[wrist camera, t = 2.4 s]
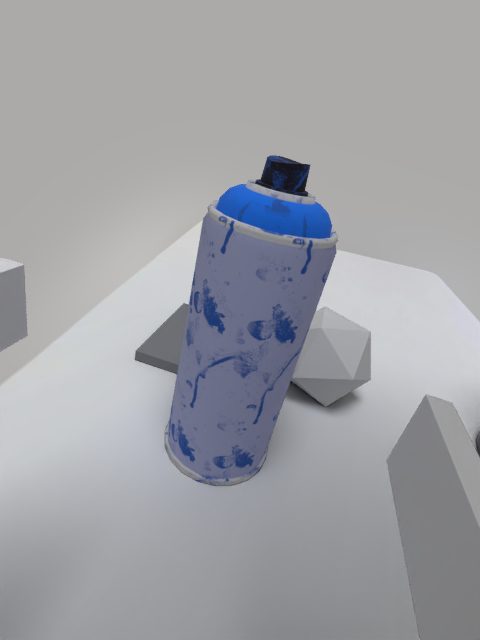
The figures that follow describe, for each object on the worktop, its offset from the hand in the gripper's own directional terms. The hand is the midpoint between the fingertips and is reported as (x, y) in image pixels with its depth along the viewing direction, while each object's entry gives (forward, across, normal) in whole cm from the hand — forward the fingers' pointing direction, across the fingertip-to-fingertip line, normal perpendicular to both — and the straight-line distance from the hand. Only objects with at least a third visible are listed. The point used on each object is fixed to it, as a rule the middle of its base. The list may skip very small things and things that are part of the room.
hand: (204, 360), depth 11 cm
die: (+22, +7, -14) cm, 27 cm away
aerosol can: (+11, 0, -14) cm, 18 cm away
